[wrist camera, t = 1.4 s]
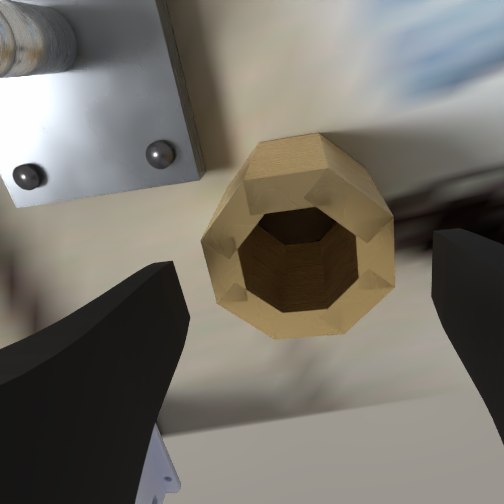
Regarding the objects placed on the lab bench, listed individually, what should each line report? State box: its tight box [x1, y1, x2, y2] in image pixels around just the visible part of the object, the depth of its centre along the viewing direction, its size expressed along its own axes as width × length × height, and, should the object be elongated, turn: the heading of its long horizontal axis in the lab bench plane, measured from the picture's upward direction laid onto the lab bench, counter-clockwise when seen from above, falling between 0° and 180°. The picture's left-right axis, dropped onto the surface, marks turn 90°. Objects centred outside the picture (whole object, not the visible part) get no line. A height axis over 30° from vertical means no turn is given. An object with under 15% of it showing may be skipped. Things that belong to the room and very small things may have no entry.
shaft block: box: [0, 0, 206, 208], centre depth 12 cm, size 11×8×5 cm
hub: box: [201, 133, 395, 339], centre depth 14 cm, size 6×6×5 cm
